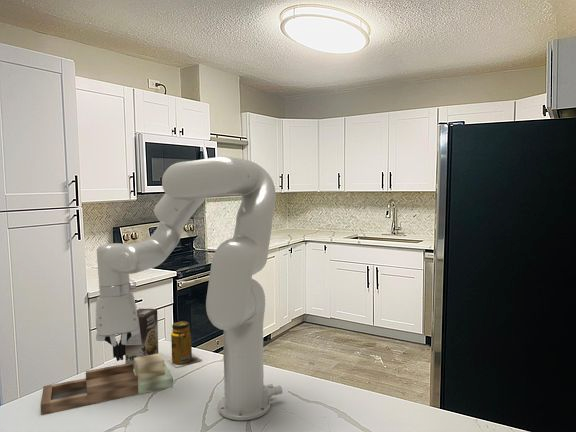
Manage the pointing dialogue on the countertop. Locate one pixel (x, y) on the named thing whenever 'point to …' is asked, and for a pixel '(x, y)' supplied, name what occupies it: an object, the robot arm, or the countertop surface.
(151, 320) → the coffee box
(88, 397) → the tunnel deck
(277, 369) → the countertop surface
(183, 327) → the condiment
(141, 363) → the birch block
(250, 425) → the countertop surface
